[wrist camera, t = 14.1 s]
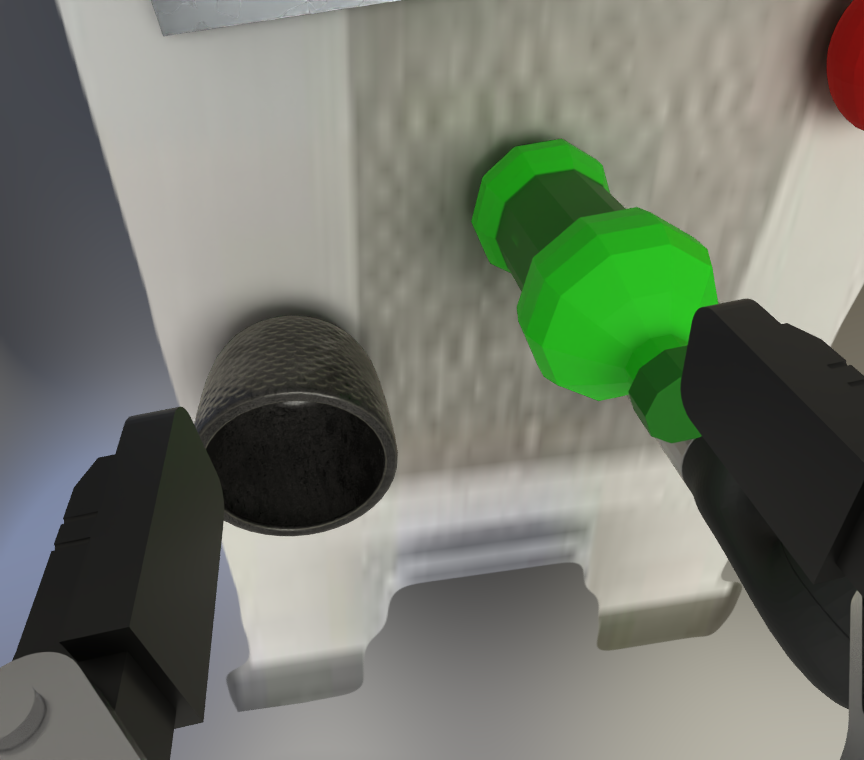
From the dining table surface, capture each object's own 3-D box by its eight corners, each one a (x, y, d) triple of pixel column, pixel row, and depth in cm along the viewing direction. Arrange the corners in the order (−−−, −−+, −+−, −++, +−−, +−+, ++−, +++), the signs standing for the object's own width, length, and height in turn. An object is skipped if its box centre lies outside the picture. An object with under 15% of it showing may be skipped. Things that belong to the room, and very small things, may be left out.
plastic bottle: (505, 93, 42) (687, 269, 23) (619, 163, 47) (852, 358, 28) (432, 220, 47) (533, 455, 28) (542, 273, 52) (695, 506, 32)
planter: (356, 430, 59) (371, 543, 49) (198, 412, 54) (177, 532, 44) (397, 302, 51) (424, 405, 41) (216, 270, 46) (196, 376, 36)
